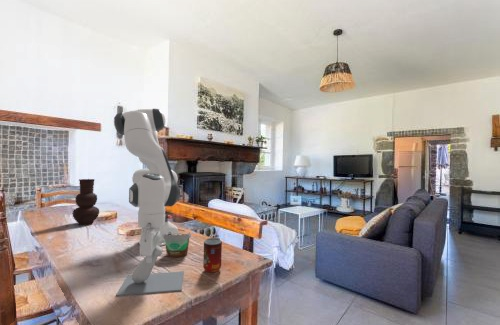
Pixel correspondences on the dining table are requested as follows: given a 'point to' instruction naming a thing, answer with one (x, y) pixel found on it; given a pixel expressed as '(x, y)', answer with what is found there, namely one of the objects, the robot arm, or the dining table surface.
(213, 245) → the soda can
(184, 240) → the food container
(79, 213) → the vase
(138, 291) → the mat
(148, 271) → the salt shaker
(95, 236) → the dining table surface
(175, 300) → the dining table surface
